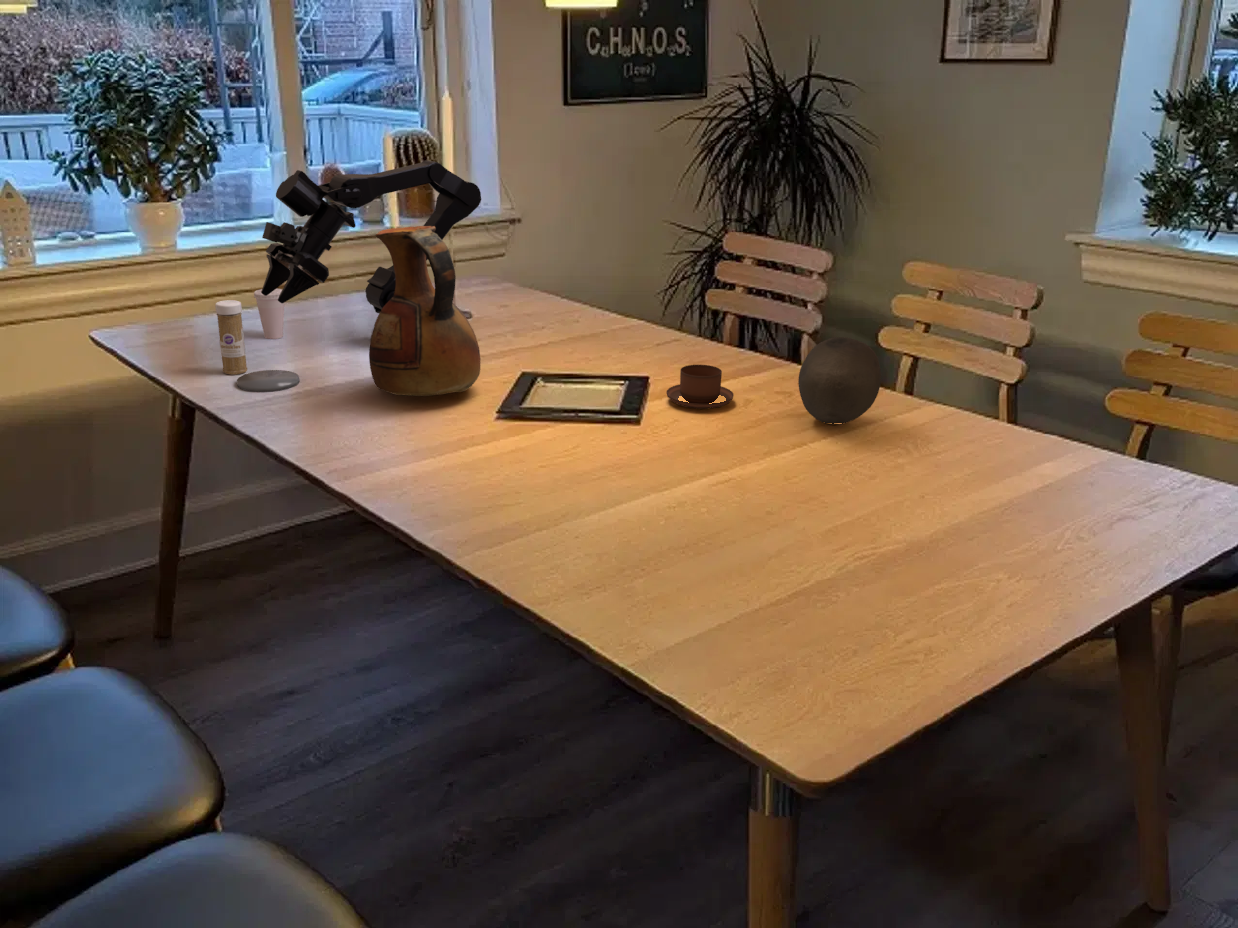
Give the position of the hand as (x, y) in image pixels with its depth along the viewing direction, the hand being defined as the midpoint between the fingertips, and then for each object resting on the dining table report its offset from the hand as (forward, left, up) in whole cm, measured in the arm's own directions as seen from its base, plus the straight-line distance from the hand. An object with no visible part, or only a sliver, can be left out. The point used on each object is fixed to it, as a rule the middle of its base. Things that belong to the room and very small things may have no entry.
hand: (271, 298), depth 211 cm
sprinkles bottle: (+6, +6, -13) cm, 16 cm away
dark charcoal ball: (-106, +12, -13) cm, 108 cm away
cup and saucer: (-83, +5, -14) cm, 84 cm away
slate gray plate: (-3, +11, -13) cm, 18 cm away
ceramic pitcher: (-33, +10, -13) cm, 37 cm away
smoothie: (+10, -19, -13) cm, 25 cm away
